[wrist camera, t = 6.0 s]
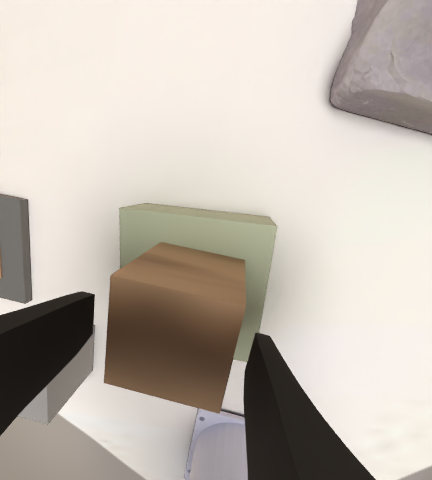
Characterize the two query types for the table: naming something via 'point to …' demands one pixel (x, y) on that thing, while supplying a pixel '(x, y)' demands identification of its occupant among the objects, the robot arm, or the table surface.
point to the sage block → (207, 248)
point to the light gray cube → (61, 386)
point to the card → (14, 250)
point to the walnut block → (175, 324)
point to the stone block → (388, 64)
